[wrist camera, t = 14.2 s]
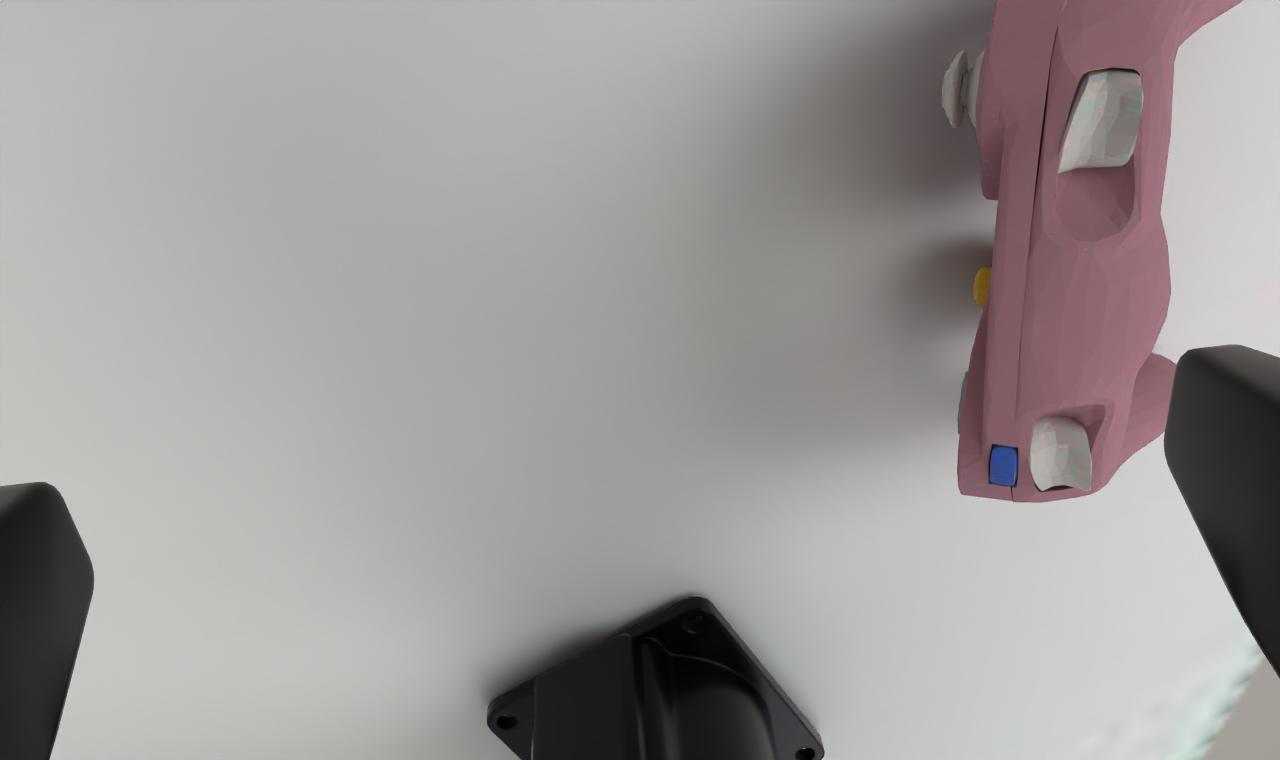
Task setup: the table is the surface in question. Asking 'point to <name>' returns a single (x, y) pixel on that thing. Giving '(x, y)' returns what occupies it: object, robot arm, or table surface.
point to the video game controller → (1069, 240)
